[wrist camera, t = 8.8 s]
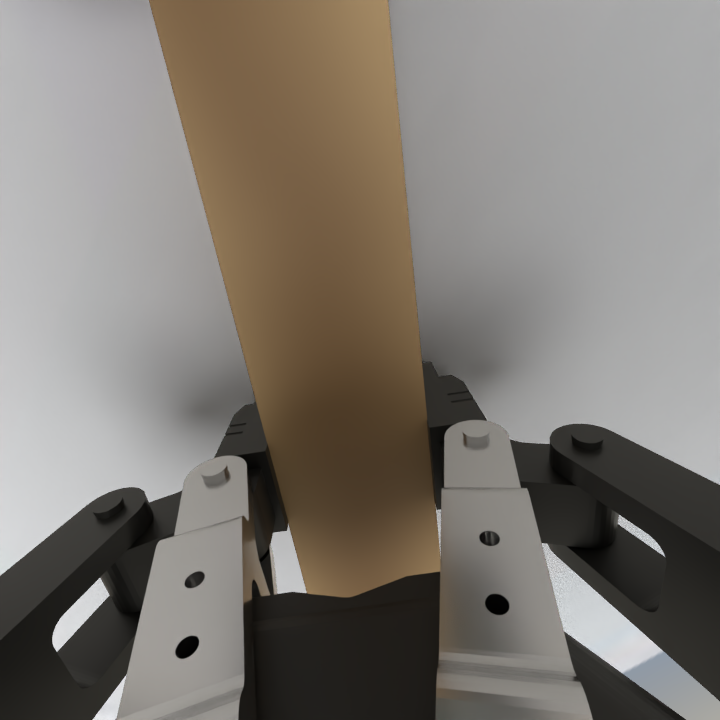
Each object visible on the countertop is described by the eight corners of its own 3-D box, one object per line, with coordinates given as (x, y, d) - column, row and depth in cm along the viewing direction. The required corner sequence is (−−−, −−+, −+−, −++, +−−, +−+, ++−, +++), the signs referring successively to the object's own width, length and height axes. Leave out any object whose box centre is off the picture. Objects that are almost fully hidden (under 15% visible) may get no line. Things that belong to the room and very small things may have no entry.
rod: (340, -207, 8) (338, -517, 5) (417, 488, 15) (443, 588, 11) (164, -177, 8) (27, -459, 5) (318, 502, 15) (310, 606, 11)
